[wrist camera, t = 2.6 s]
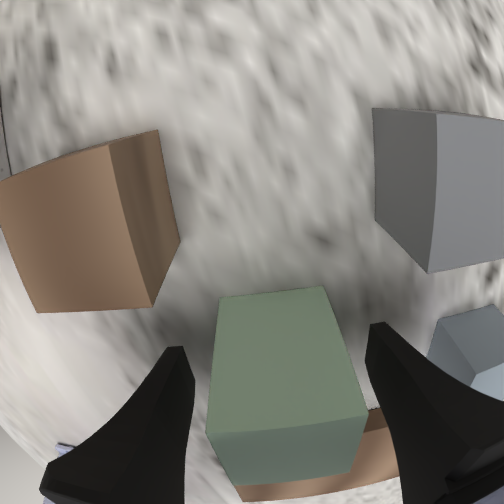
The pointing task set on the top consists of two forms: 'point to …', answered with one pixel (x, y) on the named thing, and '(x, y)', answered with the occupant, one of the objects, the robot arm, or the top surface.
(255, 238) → the top surface
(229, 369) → the sage block
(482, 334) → the slate block
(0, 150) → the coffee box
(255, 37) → the top surface
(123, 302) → the walnut block
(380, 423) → the walnut board
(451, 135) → the grey cube
